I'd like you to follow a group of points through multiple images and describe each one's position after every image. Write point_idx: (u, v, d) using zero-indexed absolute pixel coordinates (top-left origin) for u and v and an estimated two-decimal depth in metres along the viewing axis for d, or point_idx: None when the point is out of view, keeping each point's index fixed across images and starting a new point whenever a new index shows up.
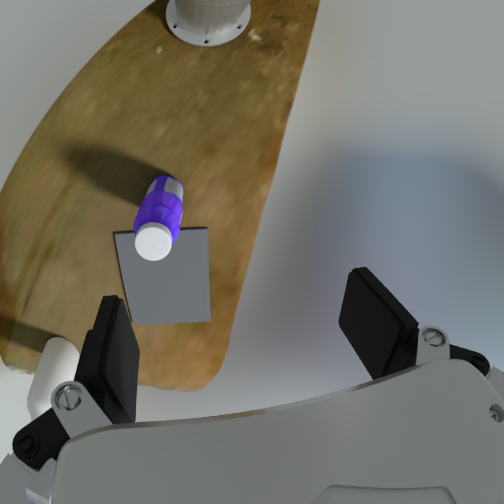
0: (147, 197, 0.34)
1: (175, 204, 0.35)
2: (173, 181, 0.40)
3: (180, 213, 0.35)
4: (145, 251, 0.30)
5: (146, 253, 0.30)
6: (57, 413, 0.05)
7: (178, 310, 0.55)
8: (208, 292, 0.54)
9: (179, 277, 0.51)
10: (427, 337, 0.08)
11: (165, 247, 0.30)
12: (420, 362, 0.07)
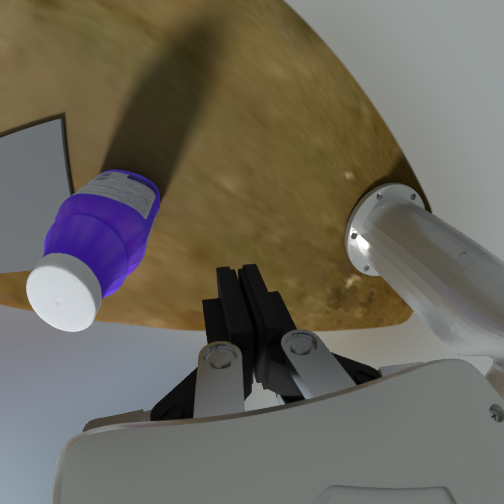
0: (134, 219, 0.18)
1: (128, 272, 0.18)
2: None
3: None
4: (40, 287, 0.11)
5: (37, 289, 0.11)
6: (214, 372, 0.07)
7: None
8: (5, 271, 0.26)
9: (12, 229, 0.24)
10: (294, 347, 0.08)
11: (61, 323, 0.12)
12: (308, 380, 0.07)
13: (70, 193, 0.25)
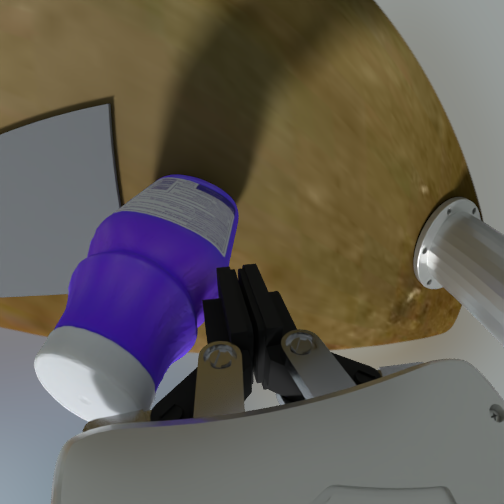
0: (208, 260, 0.12)
1: None
2: None
3: None
4: (55, 377, 0.07)
5: (50, 377, 0.07)
6: (214, 372, 0.07)
7: None
8: (25, 294, 0.23)
9: (36, 245, 0.21)
10: (294, 347, 0.08)
11: (91, 419, 0.08)
12: (308, 380, 0.07)
13: (118, 201, 0.21)
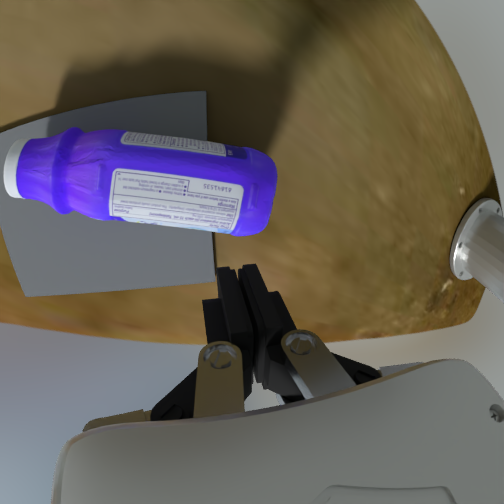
0: (101, 135, 0.13)
1: (81, 200, 0.14)
2: (218, 200, 0.15)
3: (87, 215, 0.15)
4: None
5: None
6: (213, 372, 0.07)
7: (30, 237, 0.20)
8: (81, 291, 0.24)
9: (103, 236, 0.22)
10: (294, 347, 0.08)
11: None
12: (308, 380, 0.07)
13: None
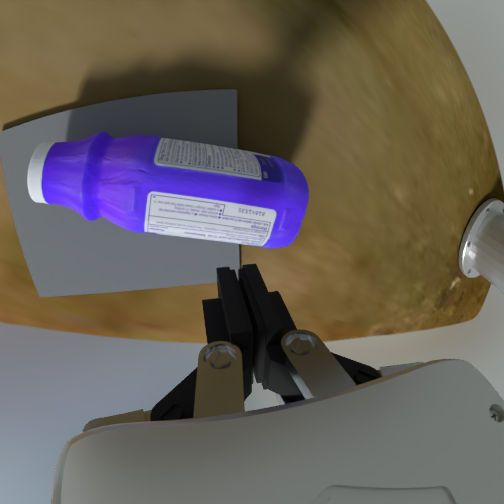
0: (132, 152, 0.14)
1: (114, 217, 0.15)
2: (251, 223, 0.16)
3: (120, 226, 0.16)
4: None
5: None
6: (214, 372, 0.07)
7: (47, 235, 0.20)
8: (100, 290, 0.24)
9: (126, 234, 0.22)
10: (294, 347, 0.08)
11: None
12: (308, 380, 0.07)
13: None
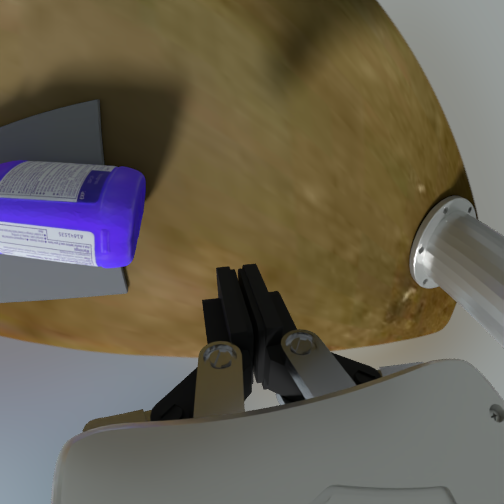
0: None
1: None
2: (73, 246, 0.13)
3: None
4: None
5: None
6: (213, 372, 0.07)
7: None
8: (13, 300, 0.21)
9: None
10: (294, 347, 0.08)
11: None
12: (308, 380, 0.07)
13: None
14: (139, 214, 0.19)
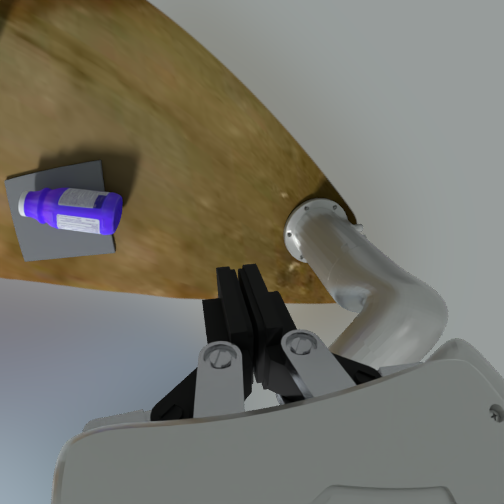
0: (52, 199, 0.34)
1: (48, 223, 0.35)
2: (91, 225, 0.36)
3: None
4: None
5: None
6: (214, 373, 0.07)
7: (29, 229, 0.40)
8: (53, 257, 0.44)
9: (62, 229, 0.42)
10: (294, 347, 0.08)
11: None
12: (308, 380, 0.07)
13: None
14: (119, 213, 0.42)
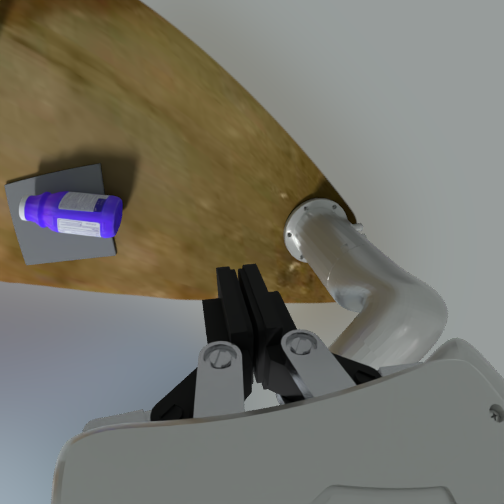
0: (52, 203, 0.34)
1: (49, 227, 0.35)
2: (91, 228, 0.36)
3: None
4: None
5: None
6: (214, 373, 0.07)
7: (29, 233, 0.40)
8: (54, 260, 0.44)
9: None
10: (294, 347, 0.08)
11: None
12: (308, 380, 0.07)
13: None
14: (120, 216, 0.42)
